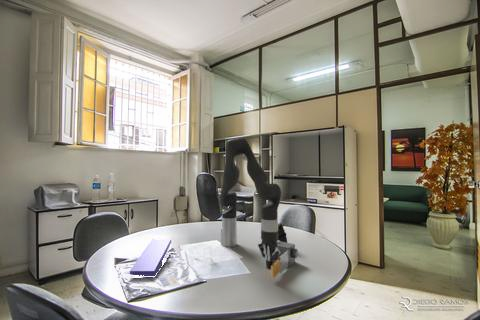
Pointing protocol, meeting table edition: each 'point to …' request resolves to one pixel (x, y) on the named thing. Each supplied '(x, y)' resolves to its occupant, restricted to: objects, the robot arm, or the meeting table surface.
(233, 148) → the robot arm
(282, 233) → the black ribbed block
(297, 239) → the meeting table surface
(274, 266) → the orange and gray panel
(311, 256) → the meeting table surface
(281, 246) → the grey box with knob
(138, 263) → the purple slab
